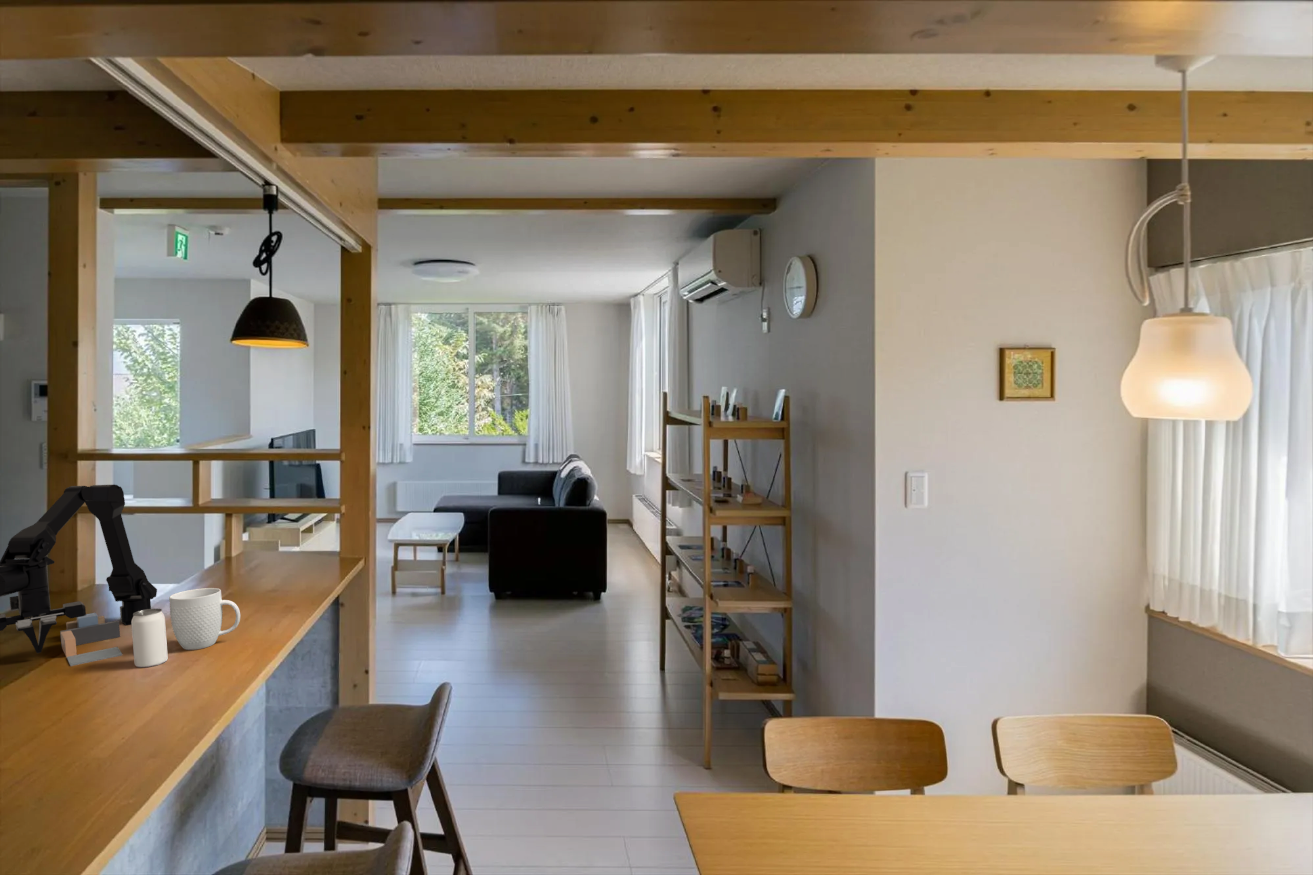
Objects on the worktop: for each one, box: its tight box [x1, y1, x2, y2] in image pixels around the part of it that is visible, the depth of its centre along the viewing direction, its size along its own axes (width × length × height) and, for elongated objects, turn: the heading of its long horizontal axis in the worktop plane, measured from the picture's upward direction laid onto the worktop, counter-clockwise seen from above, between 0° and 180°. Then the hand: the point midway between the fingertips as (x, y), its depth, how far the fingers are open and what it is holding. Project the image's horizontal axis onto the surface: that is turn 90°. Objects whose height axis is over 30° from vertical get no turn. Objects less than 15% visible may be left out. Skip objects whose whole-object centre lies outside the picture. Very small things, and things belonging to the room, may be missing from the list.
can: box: [131, 608, 169, 669], centre depth 182 cm, size 6×6×12 cm
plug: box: [76, 612, 99, 628], centre depth 204 cm, size 4×4×6 cm
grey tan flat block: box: [59, 620, 121, 658], centre depth 197 cm, size 12×12×4 cm
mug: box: [168, 587, 241, 651], centre depth 194 cm, size 15×11×13 cm
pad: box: [66, 646, 123, 667], centre depth 188 cm, size 10×8×1 cm
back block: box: [65, 615, 106, 630], centre depth 208 cm, size 8×2×4 cm, turn 131°
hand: (38, 652), depth 187 cm, fingers closed
